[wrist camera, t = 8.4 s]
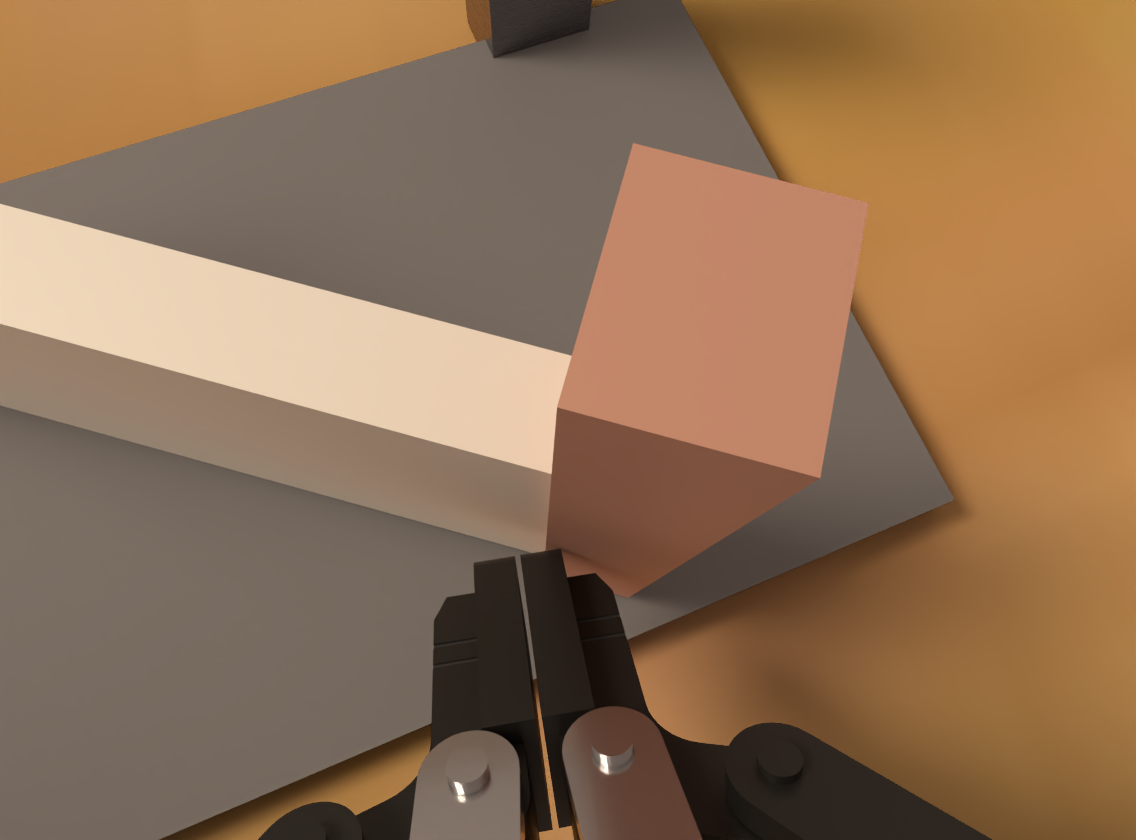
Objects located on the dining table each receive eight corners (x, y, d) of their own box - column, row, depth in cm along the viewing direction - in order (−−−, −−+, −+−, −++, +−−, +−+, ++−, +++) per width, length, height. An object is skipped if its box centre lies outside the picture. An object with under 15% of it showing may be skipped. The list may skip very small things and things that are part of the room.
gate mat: (-174, 980, 16) (-219, 1000, 15) (-259, 290, 21) (-298, 272, 20) (934, 507, 20) (954, 499, 19) (666, 10, 24) (671, -16, 23)
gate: (-136, 385, 18) (-1385, -115, 6) (-85, 296, 19) (-1128, -305, 7) (627, 597, 18) (819, 477, 6) (652, 497, 18) (868, 203, 6)
